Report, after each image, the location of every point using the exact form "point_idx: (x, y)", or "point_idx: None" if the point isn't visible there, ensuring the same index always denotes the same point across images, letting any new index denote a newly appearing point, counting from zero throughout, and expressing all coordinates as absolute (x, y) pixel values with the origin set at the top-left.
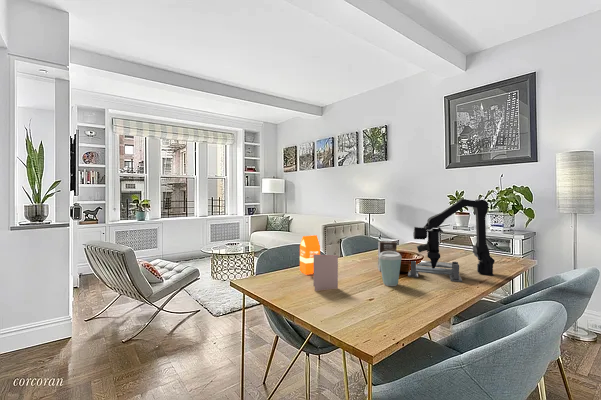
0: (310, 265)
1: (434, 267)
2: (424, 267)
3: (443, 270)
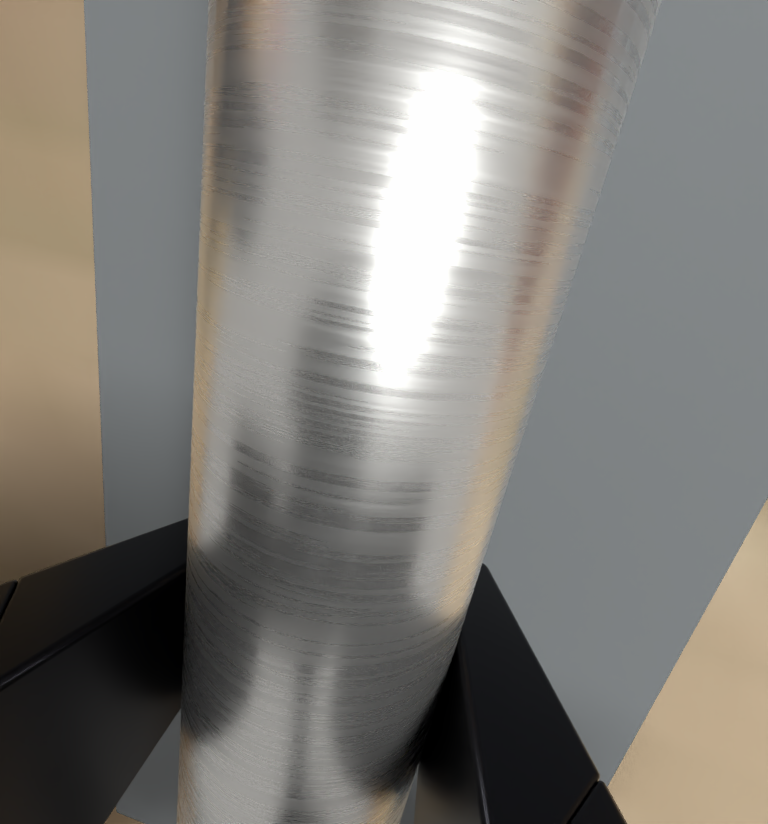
0: None
1: None
2: (708, 312)
3: None
